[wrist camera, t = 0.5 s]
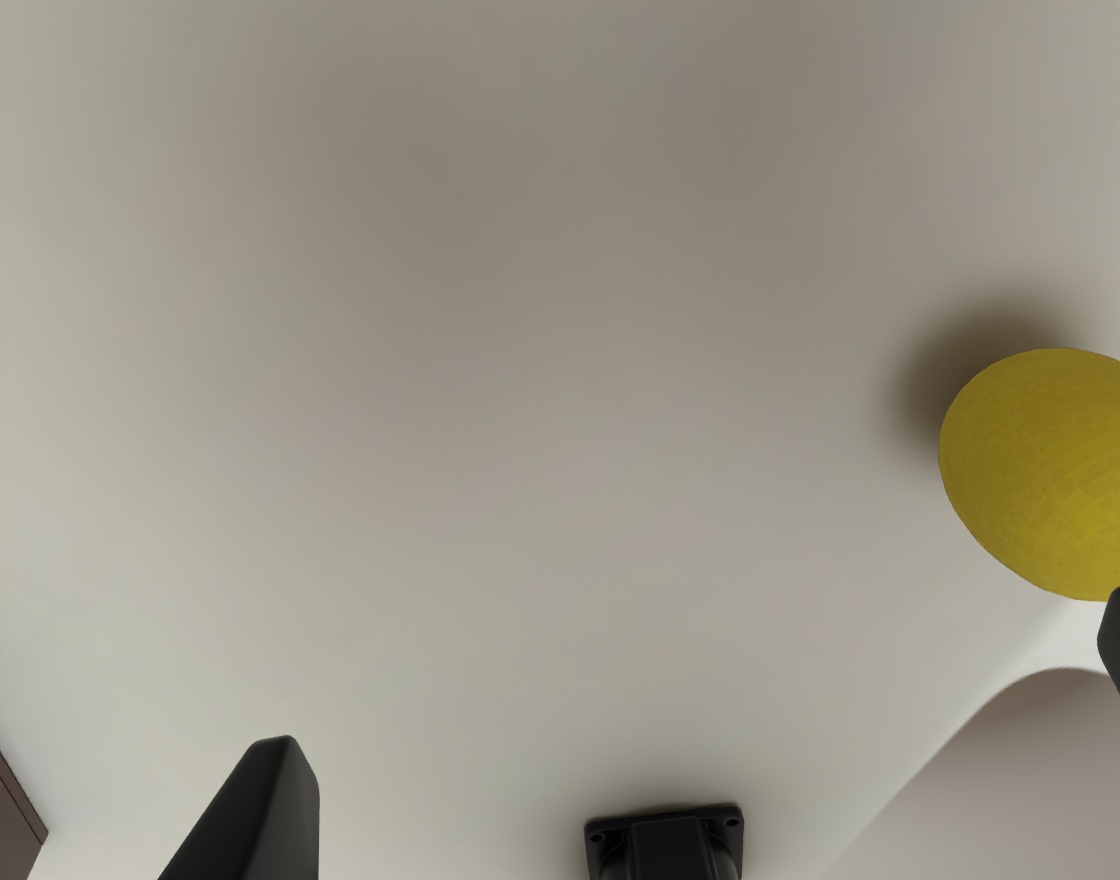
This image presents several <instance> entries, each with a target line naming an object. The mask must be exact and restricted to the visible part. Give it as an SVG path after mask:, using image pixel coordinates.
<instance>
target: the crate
mask: <svg viewBox="0 0 1120 880" xmlns="http://www.w3.org/2000/svg"><path fill="white" fill-rule="evenodd" d="M47 836H48V833H47V831H46V829H45V828H44V826H43V824H42V823H41V821H40V819H39V818H38V816H37V814H36V813H35V811H34V809H33V808H32V806H31V804H30V803H29V801H28V799H27V798H26V796H25V794H24V793H23V791H22V789H21V788H20V786H19V784H18V783H17V781H16V779H15V778H14V776H13V774H12V773H11V771H10V769H9V768H8V766H7V764H6V763H5V761H4V759H3V758H2V756H1V755H0V880H27V878H28V876H29V874H30V872H31V870H32V867H33V865H34V863H35V861H36V859H37V856H38V854H39V852H40V850H41V845H43V844H44V842H45V840H46V838H47Z"/></svg>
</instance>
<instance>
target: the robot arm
mask: <svg viewBox="0 0 1120 880" xmlns="http://www.w3.org/2000/svg"><path fill="white" fill-rule="evenodd" d="M1097 646H1098V651H1099V654H1100V657H1101V659H1102V661H1103V663H1104V665H1105V667H1106V669H1107V671H1108V673H1109V675H1110V677H1111V679H1112V681H1113V682H1114V684H1115V686H1116V688H1117V690H1118V692H1119V694H1120V586H1119V587H1117V588H1115V589H1114V590H1113V591H1112V592H1111V594H1110V596H1109V599H1108V603H1107V606H1106V609H1105V612H1104V616H1103V619H1102V622H1101V625H1100V629H1099V632H1098V636H1097ZM319 810H320V795H319V787H318V782H317V779H316V776H315V774H314V772H313V770H312V769H311V767H310V765H309V763H308V761H307V759H306V757H305V756H304V754H303V752H302V750H301V748H300V746H299V744H298V743H297V741H296V740H295V738H293V737H291V736H289V735H284V736H279V737H273V738H267V739H262V740H259V741H256V742H255V743H253V744H252V745H251V746H250V747H249V748H248V750H247V751H246V752H245V754H244V755H243V757H242V758H241V760H240V761H239V762H238V764H237V765H236V767H235V768H234V770H233V771H232V773H231V774H230V775H229V777H228V778H227V780H226V781H225V783H224V784H223V786H222V787H221V788H220V790H219V791H218V793H217V794H216V796H215V797H214V799H213V800H212V801H211V803H210V804H209V806H208V807H207V809H206V810H205V812H204V813H203V814H202V816H201V817H200V819H199V820H198V822H197V823H196V825H195V826H194V827H193V829H192V830H191V832H190V833H189V835H188V836H187V838H186V839H185V840H184V842H183V843H182V845H181V846H180V848H179V849H178V851H177V852H176V853H175V855H174V856H173V858H172V859H171V861H170V862H169V864H168V865H167V866H166V868H165V869H164V871H163V872H162V874H161V875H160V877H159V878H158V879H157V880H318V869H319ZM743 834H744V819H743V815H742V812H741V809H739V808H738V807H722V808H713V809H705V810H696V811H687V812H679V813H670V814H661V815H653V816H644V817H635V818H627V819H618V820H609V821H601V822H594V823H590V824H588V825H587V826H586V827H585V828H584V836H585V844H586V852H587V860H588V867H589V875H590V880H741V876H742V855H743Z"/></svg>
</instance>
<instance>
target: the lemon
mask: <svg viewBox="0 0 1120 880" xmlns="http://www.w3.org/2000/svg"><path fill="white" fill-rule="evenodd" d="M938 462H939V467H940V471H941V475H942V479H943V483H944V487H945V490H946V493H947V496H948V498H949V500H950V502H951V504H952V506H953V508H954V510H955V511H956V513H957V514H958V516H959V517H960V519H961V520H962V522H963V523H964V524H965V526H966V527H967V528H968V530H969V531H970V533H971V534H972V535H973V536H974V538H975V539H976V540H977V541H978V542H979V543H980V544H981V545H982V546H983V547H984V549H985V550H986V551H988V552H989V553H990V554H991V555H992V556H993V557H994V558H996V559H997V560H998V561H999V562H1001V563H1002V564H1003V565H1005V566H1006V567H1007V568H1009V569H1010V570H1012V571H1013V572H1015V573H1016V574H1018V575H1019V576H1021V577H1022V578H1024V579H1025V580H1027V581H1028V582H1030V583H1031V584H1033V585H1035V586H1037V587H1039V588H1041V589H1043V590H1045V591H1049V592H1052V593H1055V594H1059V595H1062V596H1065V597H1069V598H1072V599H1075V600H1085V601H1100V602H1108V599H1109V596H1110V594H1111V592H1112V591H1113V590H1114V589H1115V588H1117V587H1119V586H1120V361H1118V360H1116V359H1114V358H1111V357H1108V356H1105V355H1101V354H1097V353H1093V352H1088V351H1084V350H1079V349H1073V348H1049V349H1035V350H1031V351H1027V352H1023V353H1019V354H1015V355H1011V356H1009V357H1007V358H1004V359H1002V360H1000V361H998V362H996V363H993V364H991V365H990V366H988V367H987V368H986V369H984V370H983V371H981V372H980V373H978V374H977V375H975V376H974V377H973V378H972V379H971V380H970V381H969V382H968V383H967V384H966V385H965V386H964V387H963V388H962V389H961V390H960V392H959V393H958V395H957V396H956V398H955V399H954V401H953V402H952V404H951V405H950V407H949V409H948V411H947V413H946V416H945V419H944V422H943V424H942V427H941V431H940V437H939V449H938Z"/></svg>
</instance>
